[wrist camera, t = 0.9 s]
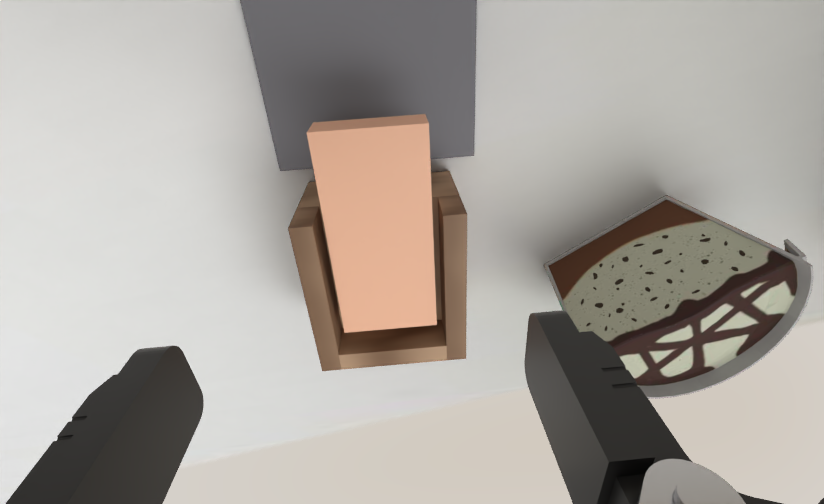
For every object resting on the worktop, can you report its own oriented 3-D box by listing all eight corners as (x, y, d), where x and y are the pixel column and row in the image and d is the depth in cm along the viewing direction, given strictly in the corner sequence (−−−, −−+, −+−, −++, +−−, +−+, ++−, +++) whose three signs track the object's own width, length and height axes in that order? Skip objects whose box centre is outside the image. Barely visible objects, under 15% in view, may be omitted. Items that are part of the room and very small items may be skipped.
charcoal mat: (476, -119, 19) (478, -121, 19) (472, 153, 26) (474, 155, 25) (219, -102, 19) (216, -104, 19) (281, 168, 26) (280, 171, 25)
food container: (559, 325, 34) (620, 433, 25) (525, 274, 31) (580, 376, 22) (710, 246, 30) (839, 339, 22) (687, 182, 28) (824, 259, 19)
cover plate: (424, 113, 21) (428, 123, 19) (433, 304, 27) (436, 324, 25) (313, 122, 20) (306, 132, 19) (347, 311, 26) (344, 332, 25)
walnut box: (449, 170, 26) (467, 213, 21) (451, 296, 31) (465, 358, 26) (308, 181, 26) (288, 228, 21) (333, 306, 31) (322, 371, 26)
